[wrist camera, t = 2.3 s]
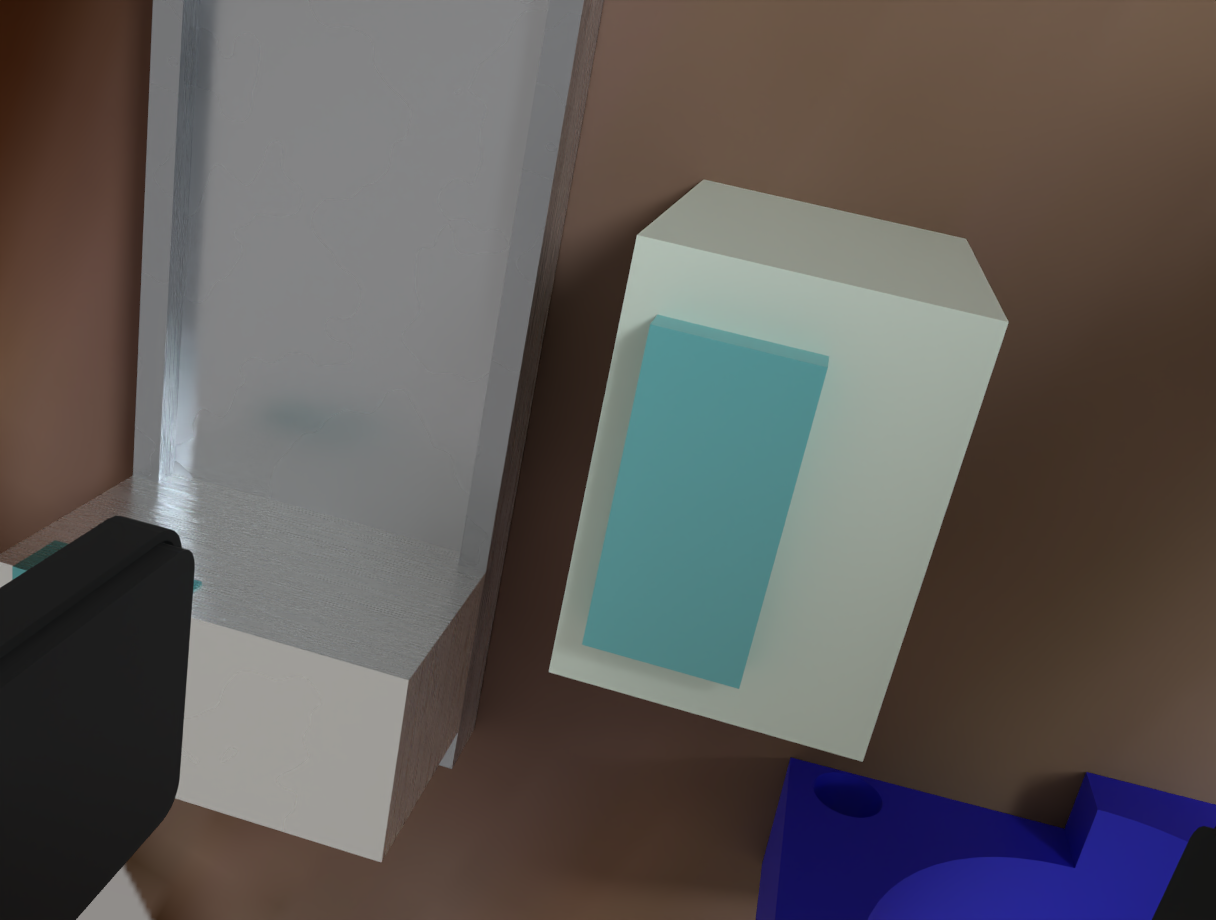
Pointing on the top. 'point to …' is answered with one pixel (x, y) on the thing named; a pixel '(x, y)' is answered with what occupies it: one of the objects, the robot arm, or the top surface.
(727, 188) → the block
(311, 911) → the top surface
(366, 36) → the rail
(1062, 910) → the blue mounting bracket
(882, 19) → the top surface
